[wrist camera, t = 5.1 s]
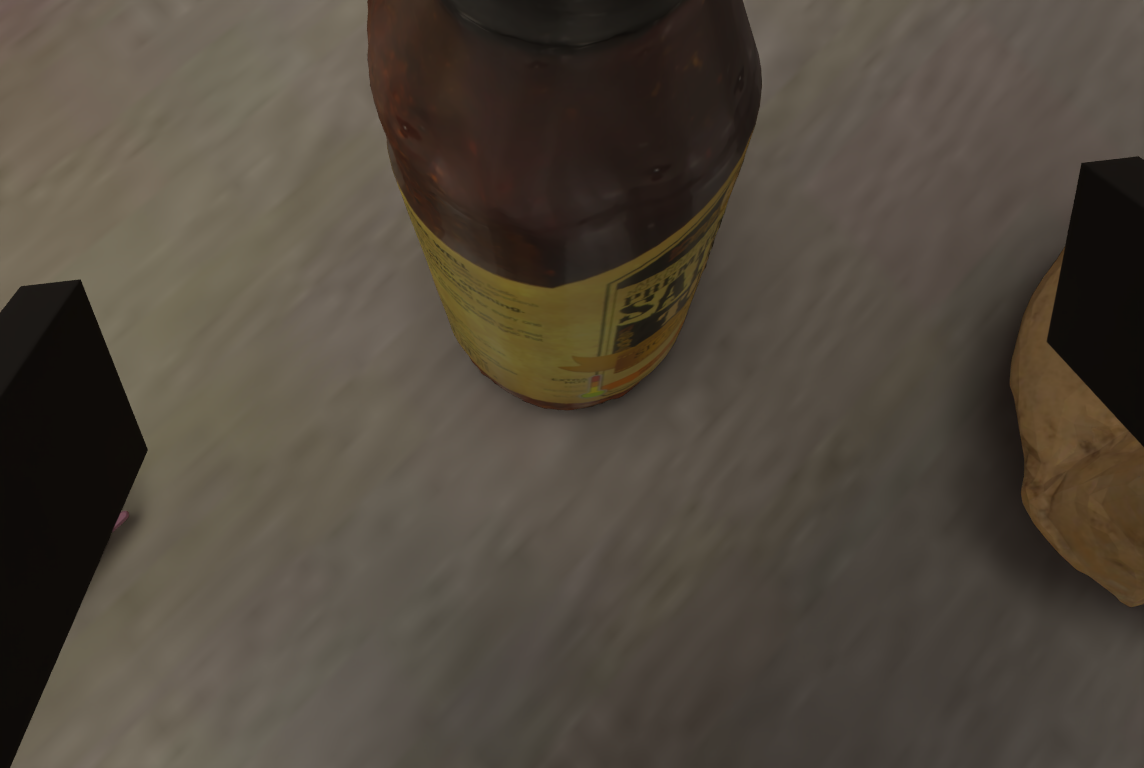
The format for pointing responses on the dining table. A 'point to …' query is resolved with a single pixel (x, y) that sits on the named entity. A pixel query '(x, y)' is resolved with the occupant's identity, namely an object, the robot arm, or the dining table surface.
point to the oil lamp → (1077, 460)
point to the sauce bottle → (565, 172)
